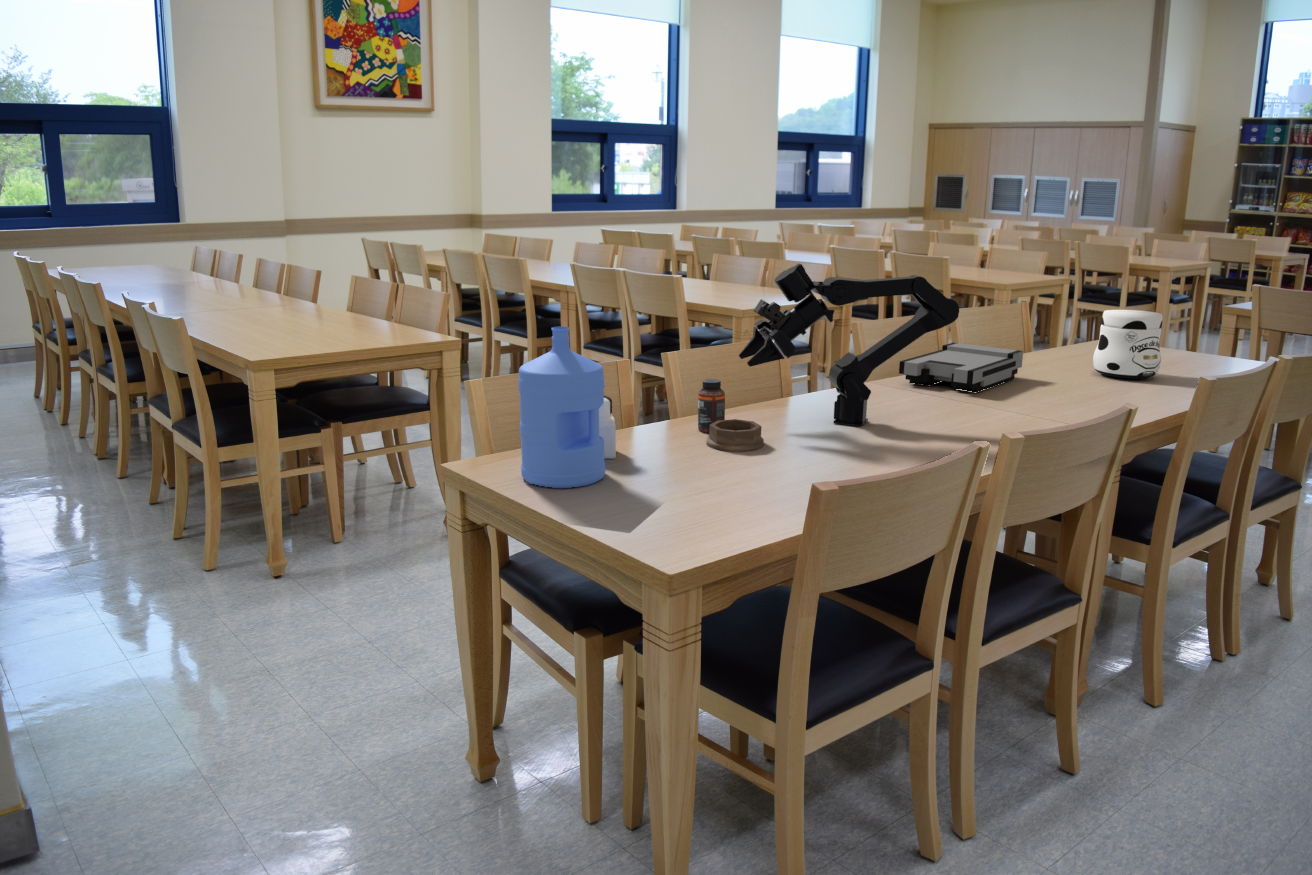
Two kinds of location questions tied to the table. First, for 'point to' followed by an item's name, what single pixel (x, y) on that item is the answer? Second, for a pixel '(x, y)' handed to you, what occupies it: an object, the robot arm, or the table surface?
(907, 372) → the game console
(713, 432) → the ring
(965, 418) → the table surface
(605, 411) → the medicine bottle
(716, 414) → the supplement bottle
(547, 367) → the water jug
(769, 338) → the robot arm
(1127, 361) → the cow print jar
